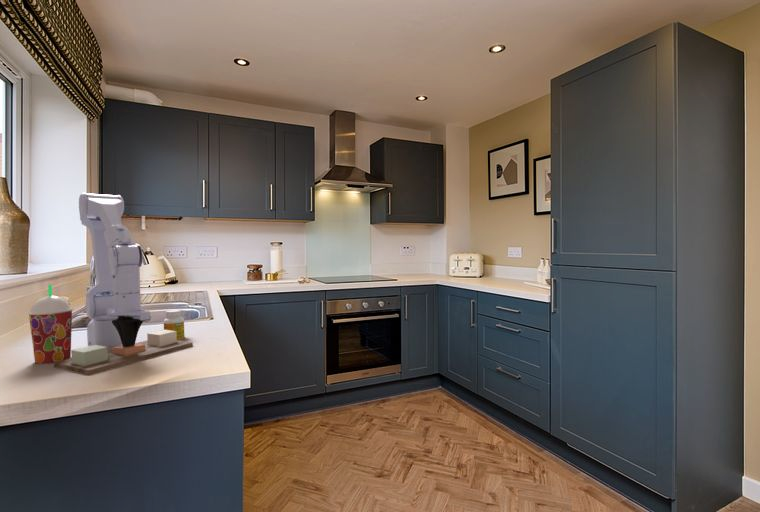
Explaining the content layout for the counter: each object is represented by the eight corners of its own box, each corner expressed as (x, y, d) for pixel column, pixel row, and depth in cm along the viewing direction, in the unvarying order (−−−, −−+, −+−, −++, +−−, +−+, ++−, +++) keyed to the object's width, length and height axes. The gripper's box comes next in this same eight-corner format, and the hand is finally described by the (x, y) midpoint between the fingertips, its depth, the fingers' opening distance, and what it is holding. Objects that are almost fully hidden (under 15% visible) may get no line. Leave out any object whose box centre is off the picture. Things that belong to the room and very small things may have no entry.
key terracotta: (113, 363, 100) (112, 347, 100) (133, 357, 104) (132, 342, 104) (125, 365, 97) (124, 349, 97) (145, 360, 102) (144, 344, 102)
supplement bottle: (176, 346, 116) (175, 312, 115) (159, 345, 117) (158, 312, 116) (188, 341, 121) (187, 309, 120) (173, 340, 122) (172, 309, 122)
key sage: (72, 367, 92) (71, 350, 91) (95, 361, 96) (95, 344, 96) (84, 370, 89) (83, 352, 89) (108, 363, 94) (107, 347, 94)
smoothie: (74, 358, 104) (71, 282, 103) (75, 366, 97) (71, 284, 97) (31, 365, 99) (28, 284, 98) (29, 373, 92) (25, 287, 92)
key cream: (147, 348, 108) (147, 333, 108) (164, 343, 112) (164, 329, 112) (159, 350, 105) (159, 335, 105) (176, 345, 110) (176, 331, 110)
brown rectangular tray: (54, 373, 92) (53, 362, 92) (159, 346, 116) (159, 337, 115) (88, 381, 86) (88, 370, 86) (192, 351, 109) (192, 342, 109)
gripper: (93, 293, 100) (95, 347, 100) (128, 296, 93) (130, 353, 94) (121, 290, 106) (123, 340, 107) (157, 292, 100) (159, 346, 100)
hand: (129, 346), depth 101 cm, fingers closed, pressing on key terracotta
